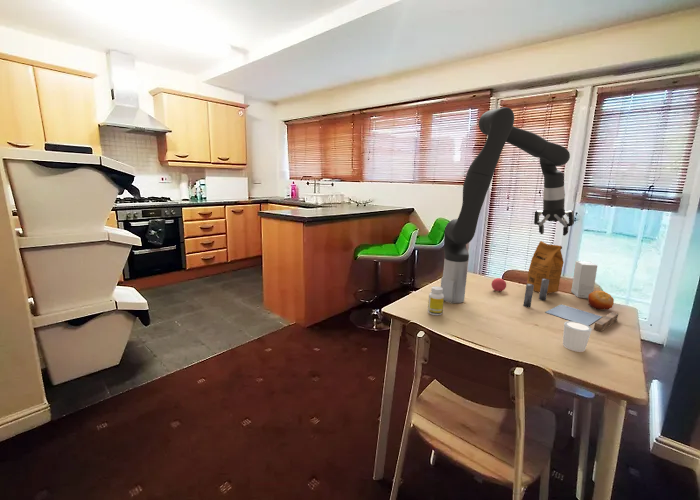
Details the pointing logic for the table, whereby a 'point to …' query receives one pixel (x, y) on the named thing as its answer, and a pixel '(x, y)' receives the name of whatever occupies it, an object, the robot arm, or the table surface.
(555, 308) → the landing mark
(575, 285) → the skincare box
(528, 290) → the near post
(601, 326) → the wall
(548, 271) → the coffee package
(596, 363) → the table surface
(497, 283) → the ball
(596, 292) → the fruit
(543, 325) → the table surface
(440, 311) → the supplement bottle
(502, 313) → the table surface
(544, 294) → the far post
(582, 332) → the white cup
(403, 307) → the table surface
